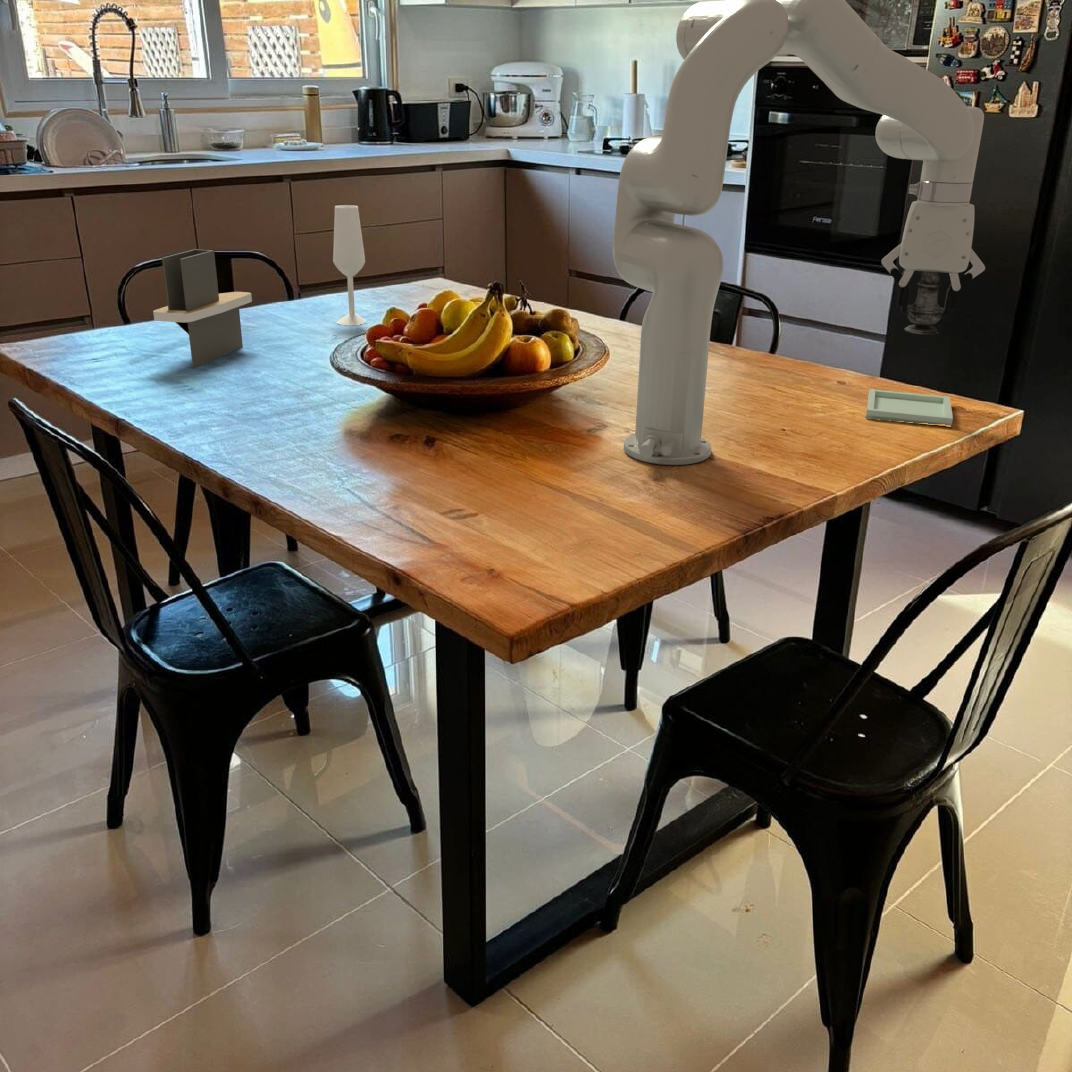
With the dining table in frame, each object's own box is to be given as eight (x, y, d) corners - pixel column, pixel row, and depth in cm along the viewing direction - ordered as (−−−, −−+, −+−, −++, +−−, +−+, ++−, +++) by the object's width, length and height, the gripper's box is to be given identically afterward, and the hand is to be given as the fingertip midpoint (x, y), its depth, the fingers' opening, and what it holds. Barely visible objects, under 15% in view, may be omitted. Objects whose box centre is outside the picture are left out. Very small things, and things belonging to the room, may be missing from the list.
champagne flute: (342, 326, 223) (336, 209, 213) (332, 320, 228) (325, 205, 219) (372, 323, 226) (367, 207, 216) (361, 317, 231) (356, 204, 222)
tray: (951, 427, 166) (952, 418, 165) (865, 418, 169) (867, 409, 169) (948, 405, 177) (949, 396, 176) (868, 397, 181) (869, 389, 180)
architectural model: (206, 331, 218) (195, 233, 210) (317, 341, 212) (310, 240, 204) (87, 378, 184) (69, 263, 176) (215, 391, 178) (203, 272, 170)
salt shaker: (927, 336, 164) (941, 258, 159) (895, 329, 168) (906, 253, 163) (948, 331, 167) (961, 254, 162) (915, 325, 171) (927, 249, 167)
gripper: (884, 193, 158) (867, 313, 166) (1007, 199, 154) (984, 322, 161) (885, 188, 165) (868, 304, 172) (1003, 194, 160) (980, 312, 167)
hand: (924, 311), depth 166 cm, fingers closed on salt shaker, 5 cm apart
